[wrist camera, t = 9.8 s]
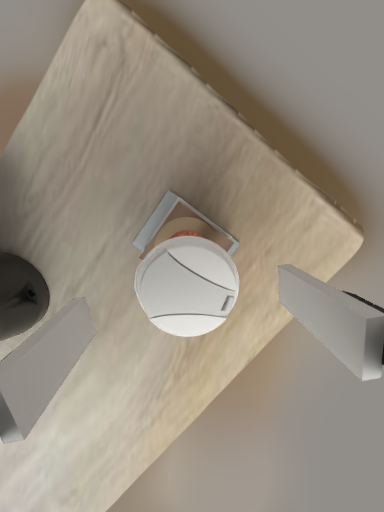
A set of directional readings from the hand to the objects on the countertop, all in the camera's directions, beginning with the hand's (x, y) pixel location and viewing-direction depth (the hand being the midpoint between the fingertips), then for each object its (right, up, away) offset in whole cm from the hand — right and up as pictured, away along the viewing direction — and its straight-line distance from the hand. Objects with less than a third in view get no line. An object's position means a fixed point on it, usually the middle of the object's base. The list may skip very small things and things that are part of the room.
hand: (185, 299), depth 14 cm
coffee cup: (-1, +4, +16) cm, 16 cm away
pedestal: (-1, +5, +21) cm, 21 cm away
